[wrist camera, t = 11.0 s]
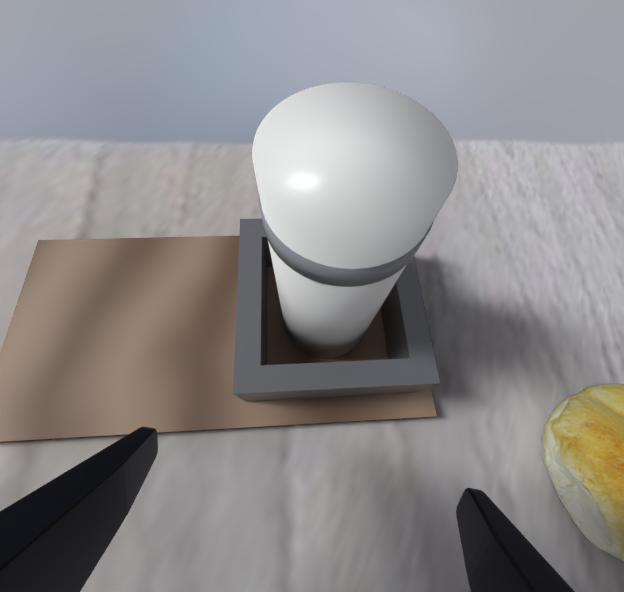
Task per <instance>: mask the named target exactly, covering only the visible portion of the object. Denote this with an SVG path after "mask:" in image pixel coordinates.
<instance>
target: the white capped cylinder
mask: <svg viewBox="0 0 624 592" xmlns="http://www.w3.org/2000/svg"><path fill="white" fill-rule="evenodd" d="M252 159H253V164H254V170H255V175H256V180H257V185H258V191H259V205H260V211H261V216H262V221H263V226H264V231H265V234H266V237H267V239H268V243H269V248H270V253H271V258H272V263H273V269H274V274H275V279H276V284H277V289H278V295H279V300H280V305H281V310H282V315H283V321H284V326H285V330H286V333H287V335H288V337H289V339H290V340H291V342H292V343H293V344H294V345H295V346H296V347H297V348H298V349H299V350H300V351H302V352H303V353H305V354H307V355H309V356H312V357H316V358H321V359H330V358H336V357H339V356H342V355H344V354H346V353H348V352H350V351H351V350H352V349H353V348H354V347H356V345H357V344H358V343H359V342H360V340H361V338H362V337H363V335H364V334H365V332H366V330H367V329H368V327H369V325H370V324H371V322H372V320H373V319H374V317H375V316H376V314H377V312H378V311H379V309H380V307H381V306H382V304H383V302H384V301H385V299H386V298H387V296H388V294H389V293H390V291H391V289H392V288H393V286H394V284H395V283H396V281H397V280H398V278H399V276H400V275H401V273H402V271H403V270H404V268H405V266H406V265H407V264H408V263H409V261H410V260H411V259H412V258H413V257H414V255H415V253H416V252H417V250H418V249H419V247H420V245H421V244H422V242H423V241H424V239H425V237H426V236H427V234H428V232H429V231H430V229H431V226H432V224H433V221H434V219H435V217H436V216H437V214H438V213H439V211H440V209H441V208H442V206H443V204H444V203H445V201H446V199H447V198H448V196H449V194H450V193H451V191H452V189H453V186H454V184H455V181H456V177H457V171H458V159H457V153H456V149H455V146H454V143H453V140H452V138H451V136H450V135H449V133H448V131H447V130H446V128H445V127H444V125H443V124H442V123H441V122H440V120H438V118H437V117H436V116H435V115H434V114H433V113H431V112H430V111H429V110H428V109H427V108H426V107H424V106H422V105H421V104H420V103H418V102H417V101H415V100H413V99H411V98H409V97H408V96H406V95H403V94H401V93H399V92H396V91H393V90H390V89H387V88H384V87H380V86H376V85H370V84H363V83H349V82H348V83H332V84H324V85H320V86H315V87H312V88H308V89H306V90H303V91H300V92H298V93H296V94H293V95H292V96H290V97H288V98H286V99H285V100H283V101H282V102H280V103H279V104H278V105H277V106H275V107H274V108H273V109H272V110H271V111H270V112H269V113H268V114H267V116H266V117H265V118H264V119H263V121H262V122H261V124H260V126H259V128H258V130H257V132H256V135H255V138H254V142H253V148H252Z"/></svg>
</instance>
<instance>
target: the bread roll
mask: <svg viewBox="0 0 624 592" xmlns="http://www.w3.org/2000/svg"><path fill="white" fill-rule="evenodd" d="M542 455H543V462H544V464H545V466H546V468H547V470H548V473H549V475H550V477H551V479H552V482H553V485H554V488H555V490H556V492H557V494H558V496H559V498H560V499H561V501H562V503H563V505H564V506H565V508H566V509H567V511H568V513H569V514H570V516H571V517H572V519H573V521H574V522H575V524H576V525H577V526H578V527H579V529H580V530H581V532H582V533H583V534H584V536H585V537H586V538H587V539H588V540H589V541H591V542H592V543H593V544H594V545H595V546H596V547H598V548H599V549H601V550H603V551H605V552H607V553H609V554H611V555H613V556H615V557H617V558H618V559H620V560H621V561H623V562H624V384H600V385H594V386H590V387H588V388H586V389H583V390H582V391H581V392H579V393H578V394H575V395H573V396H571V397H568V398H566V399H565V400H563V401H562V402H561V403H560V404H558V406H557V407H556V408H555V409H554V410H553V411H552V413H551V414H550V416H549V418H548V420H547V422H546V424H545V426H544V430H543V436H542Z"/></svg>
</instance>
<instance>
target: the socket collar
mask: <svg viewBox="0 0 624 592" xmlns="http://www.w3.org/2000/svg"><path fill="white" fill-rule="evenodd" d="M271 267H273V263H272V258H271V253H270V248H269V243H268V239H267V237H266V234H265V231H264V226H263V221H262V219H240V236H239V260H238V284H237V307H236V331H235V354H234V378H233V394H234V395H235V396H237V397H239V398H240V399H242V400H243V401H263V400H282V399H301V398H320V397H339V396H357V395H376V394H395V393H414V392H417V391H420V390H423V389H426V388H428V387H431V386H434V385H437V384H440V379H439V374H438V370H437V365H436V360H435V355H434V351H433V346H432V341H431V336H430V331H429V327H428V322H427V317H426V312H425V308H424V303H423V298H422V293H421V289H420V284H419V279H418V274H417V270H416V265H415V260H414V257H413V258H412V259H411V260H410V261H409V263H408V264H407V265H406V266H405V268H404V270H403V271H402V273H401V275H400V276H399V278H398V280H397V281H396V283H395V284H394V286H393V288H392V289H391V291H390V293H389V294H388V296H387V298H386V299H385V301H384V302H383V304H382V306H381V313H382V320H383V327H384V333H385V340H386V347H387V353H388V359H387V360H365V361H344V362H322V363H301V364H280V365H267V268H271Z"/></svg>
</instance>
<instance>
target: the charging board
mask: <svg viewBox="0 0 624 592" xmlns="http://www.w3.org/2000/svg"><path fill="white" fill-rule="evenodd" d="M238 260H239V236H207V237H163V238H119V239H75V240H38V243H37V246H36V249H35V252H34V255H33V258H32V261H31V264H30V267H29V270H28V273H27V275H26V278H25V281H24V284H23V287H22V290H21V293H20V296H19V299H18V302H17V305H16V308H15V311H14V314H13V317H12V320H11V323H10V326H9V329H8V332H7V334H6V337H5V340H4V343H3V346H2V349H1V352H0V442H8V441H26V440H43V439H60V438H77V437H94V436H112V435H128V434H130V433H132V432H133V431H135V430H137V429H138V428H140V427H150V428H155V429H156V430H157V433H163V432H180V431H198V430H215V429H232V428H249V427H267V426H284V425H301V424H318V423H335V422H353V421H370V420H387V419H404V418H421V417H435V416H437V415H436V410H435V404H434V399H433V394H432V389H431V387H428V388H426V389H423V390H420V391H417V392H414V393H395V394H376V395H357V396H339V397H320V398H301V399H282V400H263V401H243V400H242V399H240V398H239V397H237V396H235V395H234V394H233V378H234V354H235V331H236V307H237V284H238ZM387 359H388V353H387V347H386V340H385V333H384V327H383V320H382V313H381V307H380V309H379V311H378V312H377V314H376V316H375V317H374V319H373V320H372V322H371V324H370V325H369V327H368V329H367V330H366V332H365V334H364V335H363V337H362V338H361V340H360V342H359V343H358V344H357V345H356V347H354V348H353V349H352V350H351V351H350V352H348V353H346V354H344V355H342V356H339V357H336V358H330V359H321V358H316V357H312V356H309V355H307V354H305V353H303V352H302V351H300V350H299V349H298V348H297V347H296V346H295V345H294V344H293V343H292V342H291V340H290V339H289V337H288V335H287V333H286V330H285V326H284V321H283V315H282V310H281V305H280V300H279V295H278V289H277V284H276V279H275V274H274V269H273V267H271V268H267V365H280V364H301V363H322V362H344V361H365V360H387Z"/></svg>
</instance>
